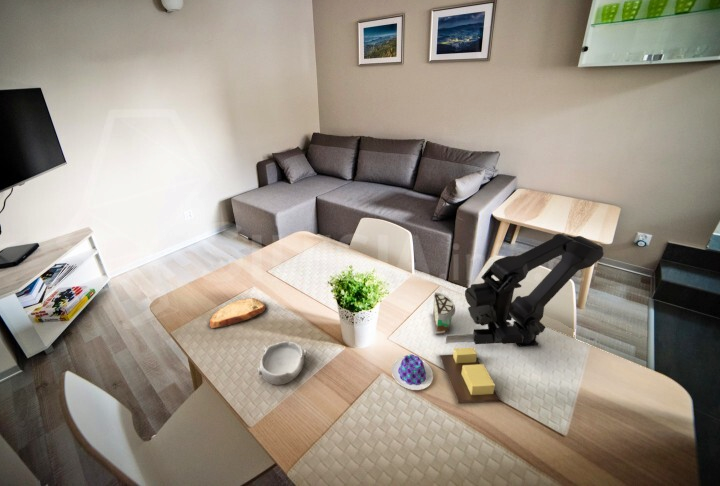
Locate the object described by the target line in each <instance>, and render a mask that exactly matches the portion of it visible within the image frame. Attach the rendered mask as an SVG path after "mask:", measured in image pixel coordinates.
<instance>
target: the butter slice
mask: <svg viewBox="0 0 720 486" xmlns="http://www.w3.org/2000/svg"><path fill="white" fill-rule="evenodd" d="M452 355H453V358H454V360H455V362H456V363H469V362H476V358H478V352H477V351H476V349H475V347H473V346H472V347H458V348H456V347H455V348H453V354H452Z"/></svg>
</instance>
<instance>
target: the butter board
mask: <svg viewBox="0 0 720 486" xmlns="http://www.w3.org/2000/svg"><path fill="white" fill-rule="evenodd" d="M439 360H440V363H441V365H442V368H443V370H444V373H445V375H446V377H447V379H448V382H449V384H450V387H451V389H452V392H453V394H454V396H455V399H456V401H457V404H468V403H486V402H500V397H499V395H498V393H497V391H496V389H495V388H494V392H493V394H483V395H471V393H470V391H469V389H468V387H467V385H466V383H465V380H464V378H463V376H462V374H461V373H462V366H463V365H477V364H481V361H480V359H479V358H478V357H477V358H476V362H469V363H456V362H455V360H454V358H453V354H440V355H439Z"/></svg>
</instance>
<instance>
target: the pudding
mask: <svg viewBox="0 0 720 486" xmlns="http://www.w3.org/2000/svg"><path fill="white" fill-rule="evenodd" d="M391 374H392V377H393V379H394V380H395V381H396V382H397V384H399V385H400V386H401V387H403V388H405V389H407V390H410V391H411V390H412V391H421V390H424V389H426V388H428V387H429V386H431V384H432V382H433V381H434V380H433V379H434V373H433V370H432V368H431V366H430V365H429V364H428V363H427V362H426V361H425V360H423V359H421V358H420V357H419V356H418V355H414V354H408V355H405V356H402V357H399V358H397V359H396V360H395V361H394V362H393V363H392V366H391Z"/></svg>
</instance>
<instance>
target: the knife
mask: <svg viewBox="0 0 720 486" xmlns="http://www.w3.org/2000/svg"><path fill="white" fill-rule="evenodd" d="M460 343H474V345H488V344H490V345H491V344H502V343H501V342H500V341H498V342H494V341H493V331H492V330H491V329H488V328H476V329H475V328H473V332H472V333H461V334H446V335H445V344H460Z"/></svg>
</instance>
